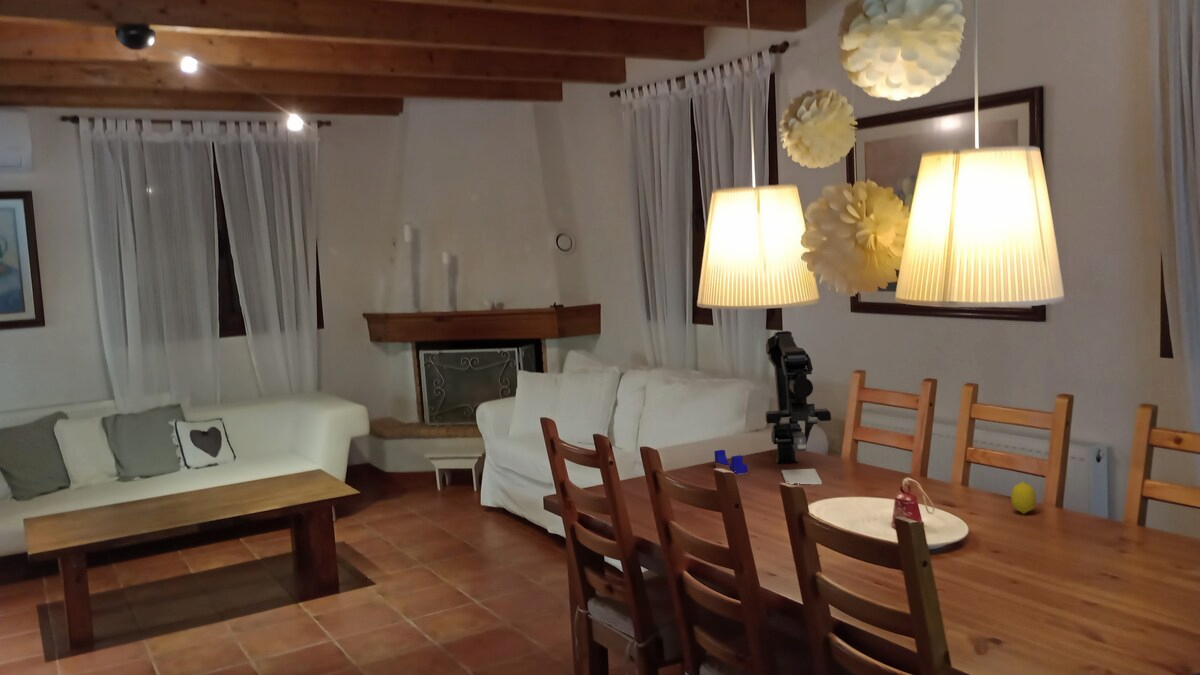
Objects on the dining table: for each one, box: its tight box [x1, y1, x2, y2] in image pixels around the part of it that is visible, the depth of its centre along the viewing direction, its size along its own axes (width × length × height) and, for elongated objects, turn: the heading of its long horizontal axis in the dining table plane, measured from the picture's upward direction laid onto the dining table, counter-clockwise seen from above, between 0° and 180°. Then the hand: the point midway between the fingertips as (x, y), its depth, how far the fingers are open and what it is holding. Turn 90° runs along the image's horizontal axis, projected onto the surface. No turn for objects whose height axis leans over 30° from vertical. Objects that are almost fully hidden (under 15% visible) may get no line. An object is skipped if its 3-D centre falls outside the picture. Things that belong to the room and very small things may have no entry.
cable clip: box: [714, 449, 749, 475], centre depth 296 cm, size 12×4×6 cm, turn 23°
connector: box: [792, 431, 807, 452], centre depth 281 cm, size 4×12×4 cm, turn 174°
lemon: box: [1010, 481, 1037, 515], centre depth 232 cm, size 6×6×8 cm
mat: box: [781, 468, 823, 486], centre depth 282 cm, size 16×10×1 cm, turn 174°
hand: (799, 444), depth 282 cm, fingers closed on connector, 3 cm apart
